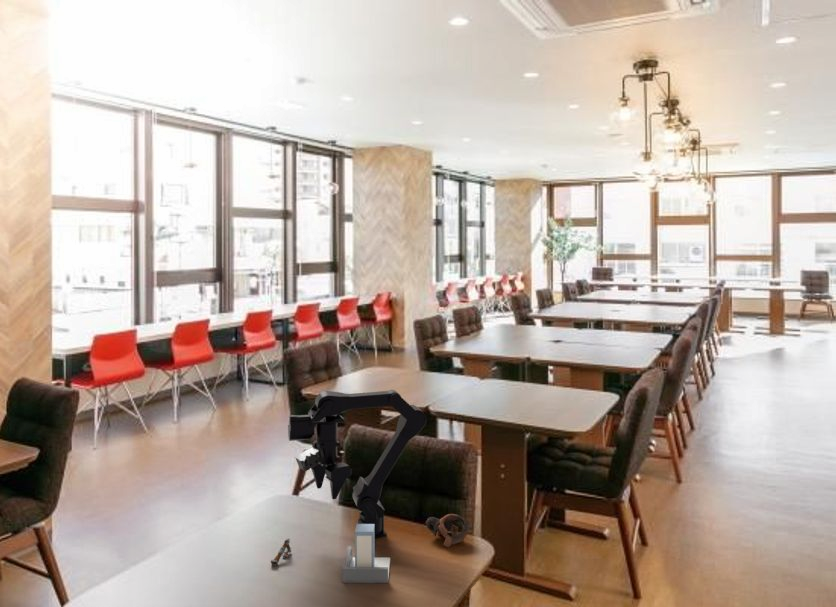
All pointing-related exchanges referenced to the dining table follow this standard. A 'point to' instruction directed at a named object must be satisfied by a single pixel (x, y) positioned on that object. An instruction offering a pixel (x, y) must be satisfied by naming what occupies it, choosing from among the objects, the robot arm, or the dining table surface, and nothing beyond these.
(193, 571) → the dining table surface
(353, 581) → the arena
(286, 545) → the wooden post with brackets
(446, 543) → the pottery mug
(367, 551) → the slate block
